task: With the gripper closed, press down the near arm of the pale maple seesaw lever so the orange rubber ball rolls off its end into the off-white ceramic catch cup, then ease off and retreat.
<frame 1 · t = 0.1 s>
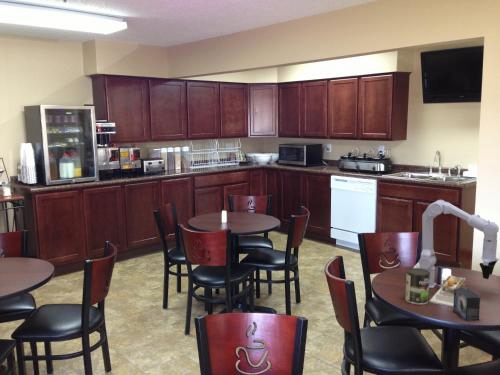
hand: (487, 276, 218), 10 cm above the table, tool pointing down, fingers open, 7 cm apart
coffee can: (416, 300, 215), on the table
small box: (465, 316, 198), on the table
crystal: (421, 272, 256), on the table
lever: (453, 285, 222), point 5 cm above the table, hinge at 0.0°, touching ball
ball: (450, 282, 216), point 8 cm above the table, touching lever
catch cup: (448, 300, 215), resting on lever base
lever base: (450, 297, 219), on the table
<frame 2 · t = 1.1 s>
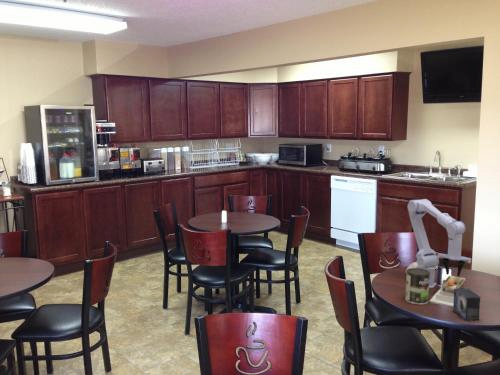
hand: (453, 274, 219), 10 cm above the table, tool pointing down, fingers open, 4 cm apart
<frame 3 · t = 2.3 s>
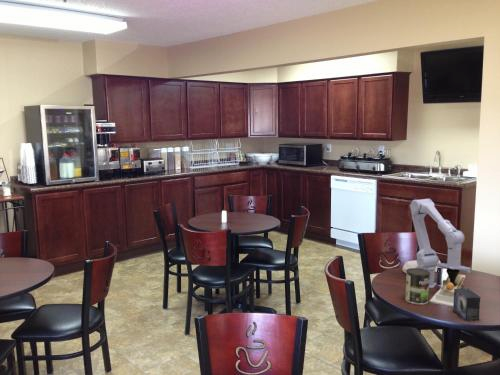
hand: (452, 284, 220), 6 cm above the table, tool pointing down, fingers closed, pressing on lever
lever: (453, 285, 222), point 4 cm above the table, hinge at 11.3°, touching ball, gripper
ball: (450, 285, 216), point 6 cm above the table, tilted 17°, touching lever
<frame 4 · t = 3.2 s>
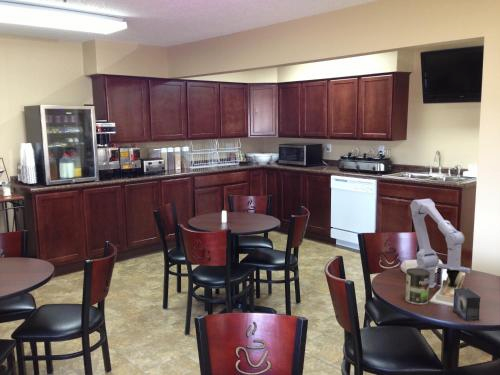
hand: (452, 285, 220), 5 cm above the table, tool pointing down, fingers closed, pressing on lever
lever: (453, 285, 222), point 4 cm above the table, hinge at 21.8°, touching gripper
ball: (447, 296, 213), point 3 cm above the table, tilted 155°, touching catch cup
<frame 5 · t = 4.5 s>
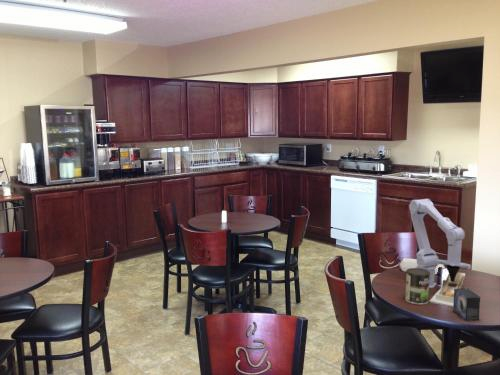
hand: (452, 281, 220), 7 cm above the table, tool pointing down, fingers closed
lever: (453, 285, 222), point 4 cm above the table, hinge at 19.2°
ball: (448, 295, 214), point 3 cm above the table, tilted 164°, touching catch cup
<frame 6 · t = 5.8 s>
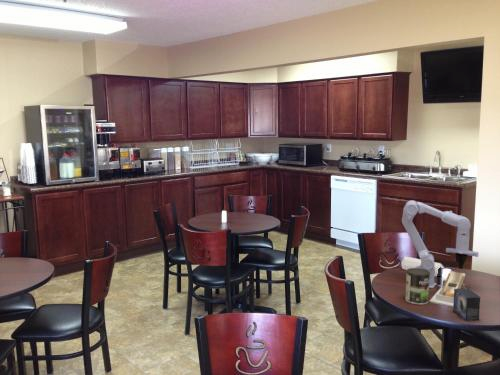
hand: (461, 268, 229), 10 cm above the table, tool pointing down, fingers closed
ball: (448, 295, 215), point 3 cm above the table, tilted 143°, touching catch cup
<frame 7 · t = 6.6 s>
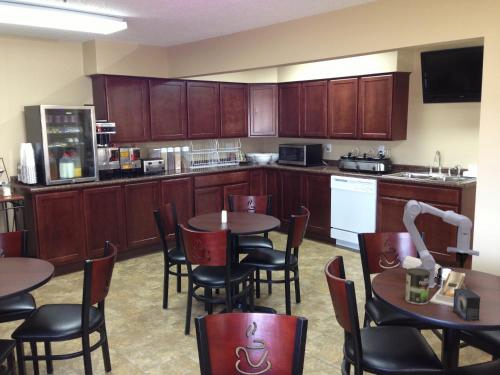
hand: (461, 267, 230), 10 cm above the table, tool pointing down, fingers closed
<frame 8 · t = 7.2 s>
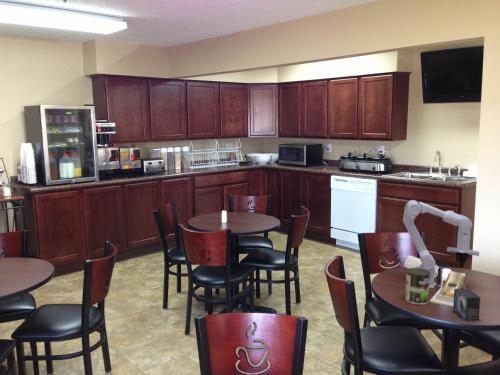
hand: (461, 267, 230), 10 cm above the table, tool pointing down, fingers closed
at the end: ball inside the target area on the catch cup (0.1 cm from its centre), point 2.6 cm above the catch cup's base; ball touching catch cup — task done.
